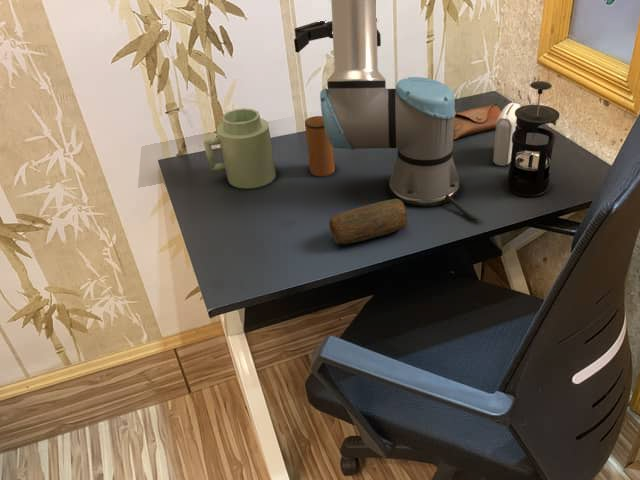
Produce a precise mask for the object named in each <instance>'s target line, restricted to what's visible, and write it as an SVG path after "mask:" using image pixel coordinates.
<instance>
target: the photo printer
mask: <svg viewBox="0 0 640 480" xmlns="http://www.w3.org/2000/svg"><path fill="white" fill-rule="evenodd" d="M519 107H522V106H521V105H520V104H519V103H516V102H510V103H508V104H507V105H505V106H504V107H503V109H502V110H500V111H501V113H500V115H499V117H498V119H497V123H496V130H495V132H494V133H495V134H494V145H493V157H492V162H493V163H494V164H495V165H497V166H500V167H501V166H502V167H506V166H508V165H509V164H510V163H511V154H512V145H513V143H512V134H513V132H514V131H515V128H516V126H517V124H516V118H517V117H516V116H515V111H516V109H517V108H519Z"/></svg>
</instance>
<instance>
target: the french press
mask: <svg viewBox="0 0 640 480" xmlns="http://www.w3.org/2000/svg"><path fill="white" fill-rule="evenodd" d="M529 86H530V87H531V88H532V89H534V90H537V95H538V97H537V104H525V105H522V106H521V107H519V108H517V109H516V111H515V116H516V117H517V118H516V124H517V126H516V128H515V131H514V132H513V134H512V143H513V145H512V154H511V162H510V163H509V164H510V165H509V168H508V171H507V180H506V182H505V188H506V189H507V191H508V192H510V193H511V194H513V195H515V196H518V197H521V198H539V197H542V196H544V195H545V194H547V193H548V192H549V190H550V177H551V173H550V168H551V167H550V166H551V163H552V154H553V148H554V147H555V145H556V140H557V135H556V133H554V132H553V131H552V130H550V129H547V128H544V127H540V126H543V125H547V124H548V125H549V124H552V125H553V126H554V127H556V126H557V121H558V120H559V119H560V116H561V115H560V112H559V111H558V110H556V109H555V108H553V107H551V106H547V105H542V104H540V103H541V102H540V101H541V95H542V94H543V93H544V91H547V90H550V89H551V88H552V83H550V82H548V81H542V80H537V81H532V82H531V83H530V84H529ZM528 134H533V135H532V141H531V144H528V143H527V137H528ZM536 134H540V135H543V136H546V137H548V141H547V143H545V144H535V138H536ZM519 179H533V180H535V182H525V181H521V180H519Z"/></svg>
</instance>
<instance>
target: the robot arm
mask: <svg viewBox="0 0 640 480" xmlns="http://www.w3.org/2000/svg"><path fill="white" fill-rule="evenodd" d="M330 3H331V20H330V21H327V22H326V23H325V21H326V20H325V21H320V22H317V21H314V22H310V23H307V24H305V25H301V26H299V27H295V28H294V37H295V38H294V39H293V43H294V50H295V53H300V52H301V51H302V50H303V49H305V48H306V46H307V45H309V44H310V42H311V41H317V40H320V39H325V38H329V39H332V46H333V47H332V49H333V69H334V70H333V72H332V74H331V75H330V76H329V77H328V78H327V79H326V82H327V83H326V84H327V85H326V86H327V88H323V89H322V90H321V91H320V92H319V99H320V100H319V101H320V110H321V116H322V118H323V123H324V127H325V132H326V135H327V138H328V141H329V142H330V144H331V145H332V146H333V148H336V149H345V150H346V149H350V150H352V151H353V150H358V149H397V157H396V160H395V163H394V167H393V169H392V173H391V175H390V178H389V192H390V194H391V196H392V197H393V199H399V200H401V201H402V202H403V204H404V205H409V206H413V207H421V208H428V207H430V208H431V207H437V206H443V205H445V204H447V203H449V202H450V203H451V204H452V205H454V206H455V208H457V209H458V210H459V211H460V212H461V213H462V214H463V215H465V216H466V217H468V218H469V219H471V220H472V221H474V222H477V223H478V222H479V218H478V217H477V216H475V215H473V214H471V213H470V212H469V211H468V210H466V209H465V208H464V207H463V206H462V205H461V204H459V202H457V200H455V199H456V197H457V196H458V195H459V193H460V186H461V185H460V177H459V174H458V171H457V168H456V164H455V160H454V157H453V156H454V155H453V151H454V139H453V130H454V117H455V113H456V109H455V94H454V92H453V90H452V89H451V88H450V87H449V86H448V85H446V84H445V83H443V82H441V81H438V80H436V79H433V78H428V77H421V76H410V77H408V78H406V77H405V78H401V79H400V80H398V81H397V83H396V85H395V88H387V87H386V86H387V84H386V78H385V77H384V75H383V74H382V73H380V71H379V67H378V61H379V60H378V47H381V46H382V40H381V39H382V37H381V33H380V31H379V29H378V26H377V25H378V24H377V23H378V21H377V18H376V0H330Z"/></svg>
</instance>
